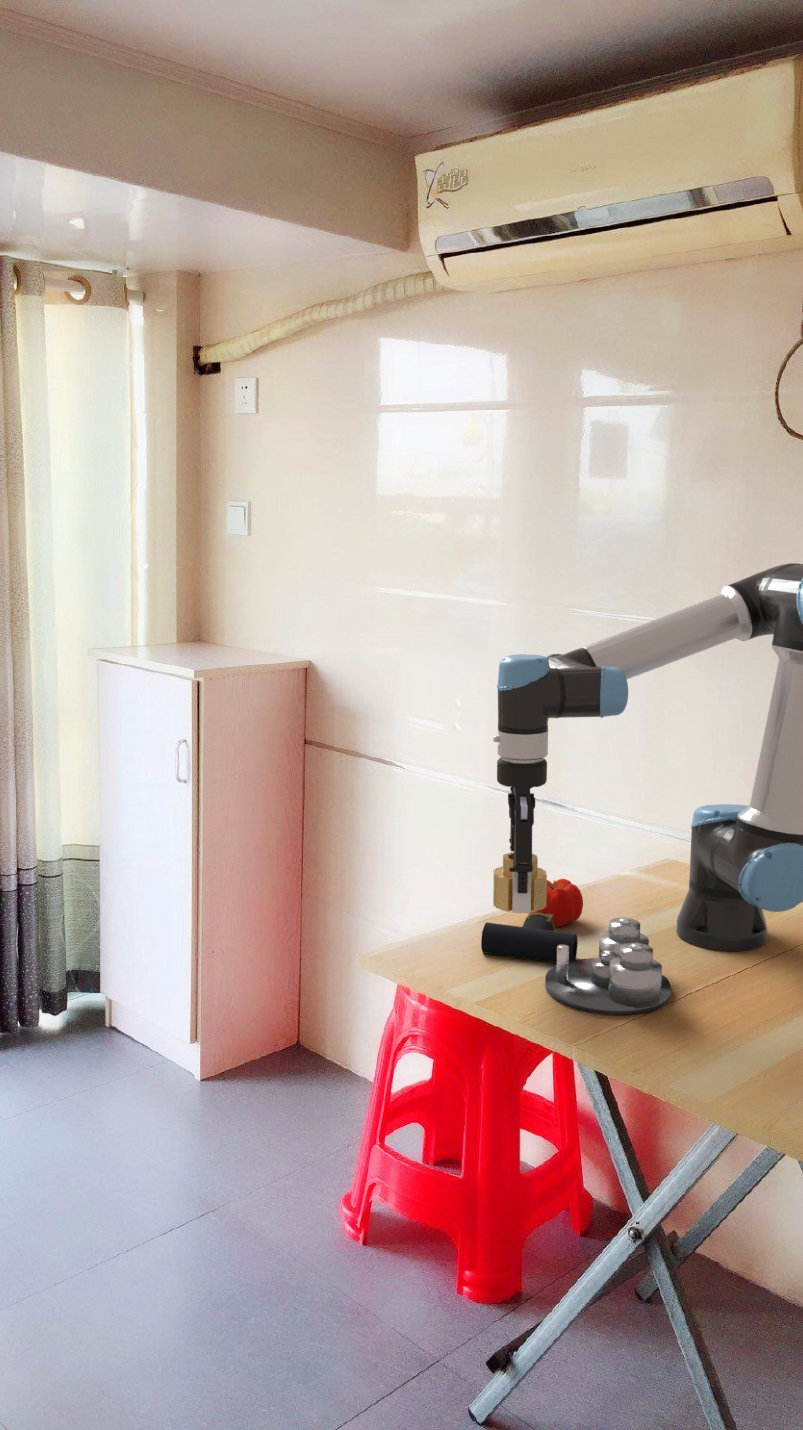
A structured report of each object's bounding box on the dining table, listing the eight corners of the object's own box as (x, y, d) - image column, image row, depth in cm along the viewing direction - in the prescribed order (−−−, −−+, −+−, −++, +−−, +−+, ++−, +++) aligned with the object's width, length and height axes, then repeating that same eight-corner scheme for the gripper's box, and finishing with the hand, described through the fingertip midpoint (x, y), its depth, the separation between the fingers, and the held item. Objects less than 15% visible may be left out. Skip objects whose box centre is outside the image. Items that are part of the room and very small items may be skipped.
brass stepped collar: (543, 895, 183) (544, 849, 182) (547, 913, 175) (548, 865, 174) (492, 895, 183) (493, 849, 182) (494, 912, 175) (494, 864, 174)
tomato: (524, 928, 204) (525, 887, 203) (535, 912, 213) (536, 872, 211) (577, 934, 202) (579, 893, 200) (586, 918, 210) (587, 878, 209)
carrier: (658, 966, 188) (660, 911, 186) (682, 1017, 169) (685, 956, 167) (540, 964, 188) (541, 909, 186) (551, 1014, 169) (553, 953, 168)
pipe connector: (499, 904, 201) (585, 915, 197) (498, 933, 202) (584, 944, 198) (481, 927, 191) (571, 939, 186) (480, 958, 192) (570, 970, 187)
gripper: (494, 743, 185) (493, 880, 189) (499, 773, 165) (498, 926, 169) (541, 744, 185) (539, 881, 189) (553, 773, 165) (549, 926, 169)
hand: (519, 902), depth 179 cm, fingers closed on brass stepped collar, 8 cm apart
